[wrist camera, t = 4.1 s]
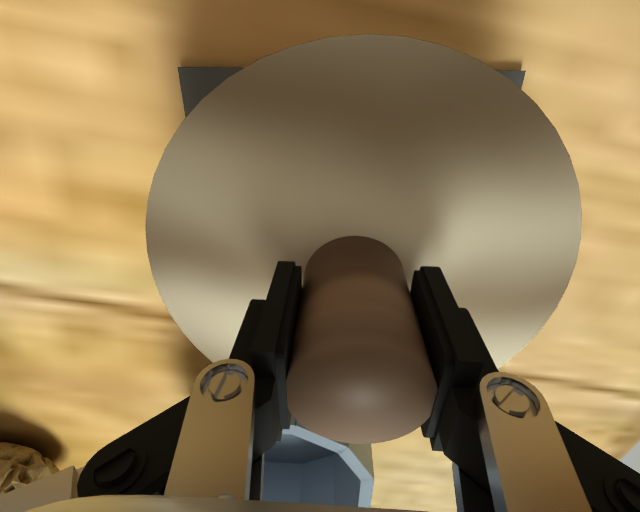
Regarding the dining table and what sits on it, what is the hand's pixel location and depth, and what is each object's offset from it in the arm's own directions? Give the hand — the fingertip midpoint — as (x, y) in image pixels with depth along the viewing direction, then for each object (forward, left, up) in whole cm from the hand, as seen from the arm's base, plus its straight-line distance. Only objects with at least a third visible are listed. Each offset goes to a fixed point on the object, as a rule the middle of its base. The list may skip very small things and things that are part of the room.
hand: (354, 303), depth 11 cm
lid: (0, 0, -2) cm, 2 cm away
